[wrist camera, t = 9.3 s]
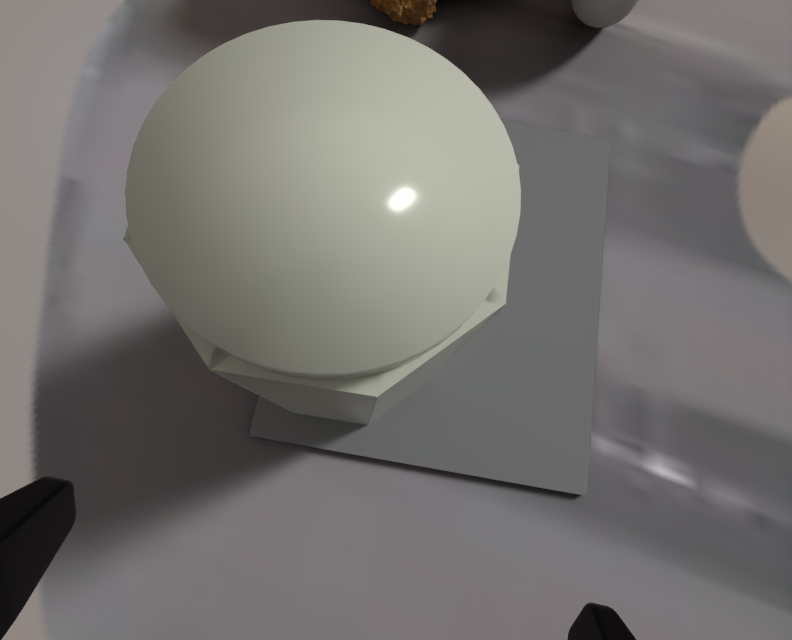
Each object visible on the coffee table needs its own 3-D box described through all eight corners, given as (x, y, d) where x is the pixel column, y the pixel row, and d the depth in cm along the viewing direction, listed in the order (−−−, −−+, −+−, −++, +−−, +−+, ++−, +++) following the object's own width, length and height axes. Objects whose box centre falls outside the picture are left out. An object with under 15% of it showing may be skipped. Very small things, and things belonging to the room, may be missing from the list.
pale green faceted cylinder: (419, 433, 20) (507, 413, 8) (241, 404, 20) (60, 340, 8) (442, 267, 22) (541, 51, 10) (279, 239, 22) (181, -16, 10)
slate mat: (582, 494, 21) (586, 496, 20) (250, 435, 20) (248, 436, 20) (606, 145, 25) (610, 140, 25) (334, 91, 25) (333, 86, 24)
